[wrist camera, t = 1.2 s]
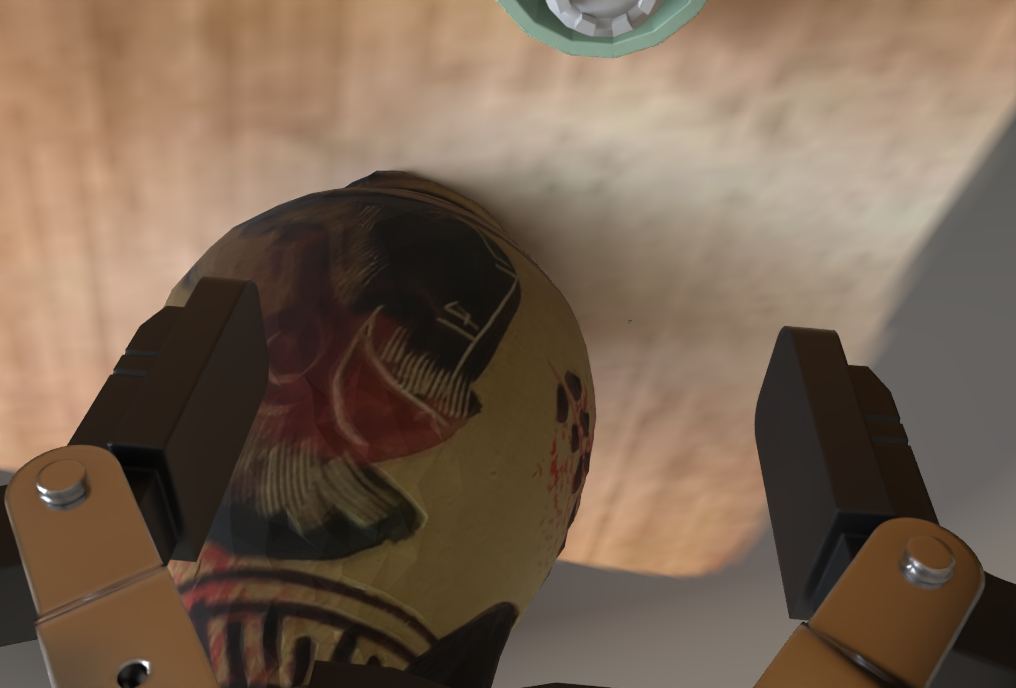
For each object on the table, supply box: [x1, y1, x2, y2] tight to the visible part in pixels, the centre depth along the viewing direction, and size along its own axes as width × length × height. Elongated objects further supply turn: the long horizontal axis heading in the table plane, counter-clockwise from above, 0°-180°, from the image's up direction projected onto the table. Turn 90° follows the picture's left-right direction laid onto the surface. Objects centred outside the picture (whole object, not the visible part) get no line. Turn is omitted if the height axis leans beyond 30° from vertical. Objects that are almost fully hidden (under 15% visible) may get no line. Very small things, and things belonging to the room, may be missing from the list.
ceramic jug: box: [164, 171, 632, 688], centre depth 26 cm, size 17×15×30 cm
